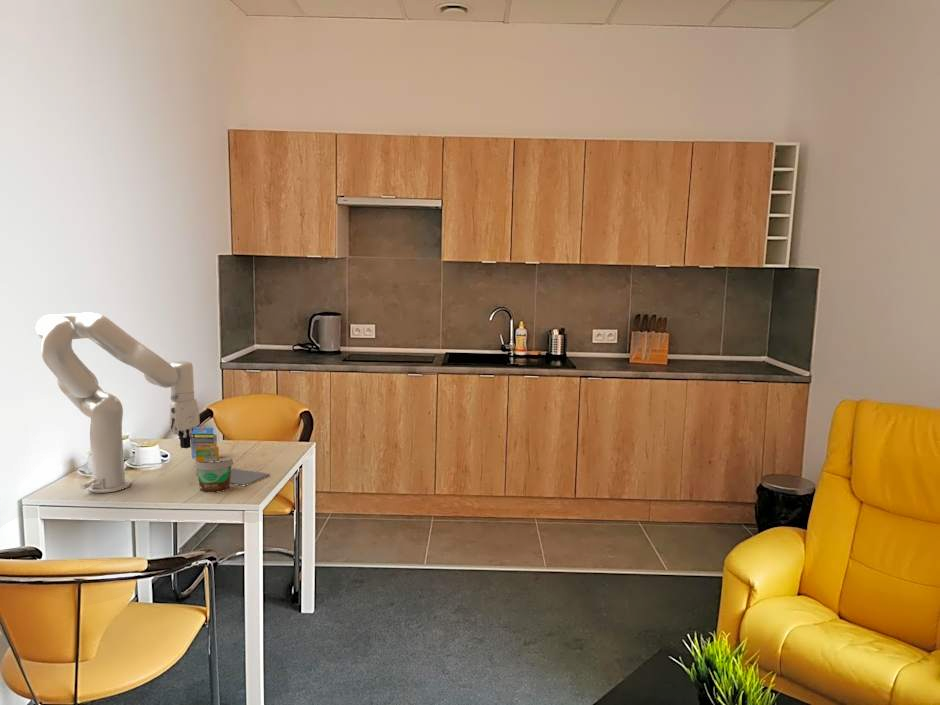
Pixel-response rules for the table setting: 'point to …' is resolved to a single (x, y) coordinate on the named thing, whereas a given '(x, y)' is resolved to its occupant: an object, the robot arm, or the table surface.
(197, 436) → the label tape box
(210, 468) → the food container
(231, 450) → the table surface
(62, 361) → the robot arm
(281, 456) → the table surface
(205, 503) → the table surface
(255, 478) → the mat
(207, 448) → the crayon box
